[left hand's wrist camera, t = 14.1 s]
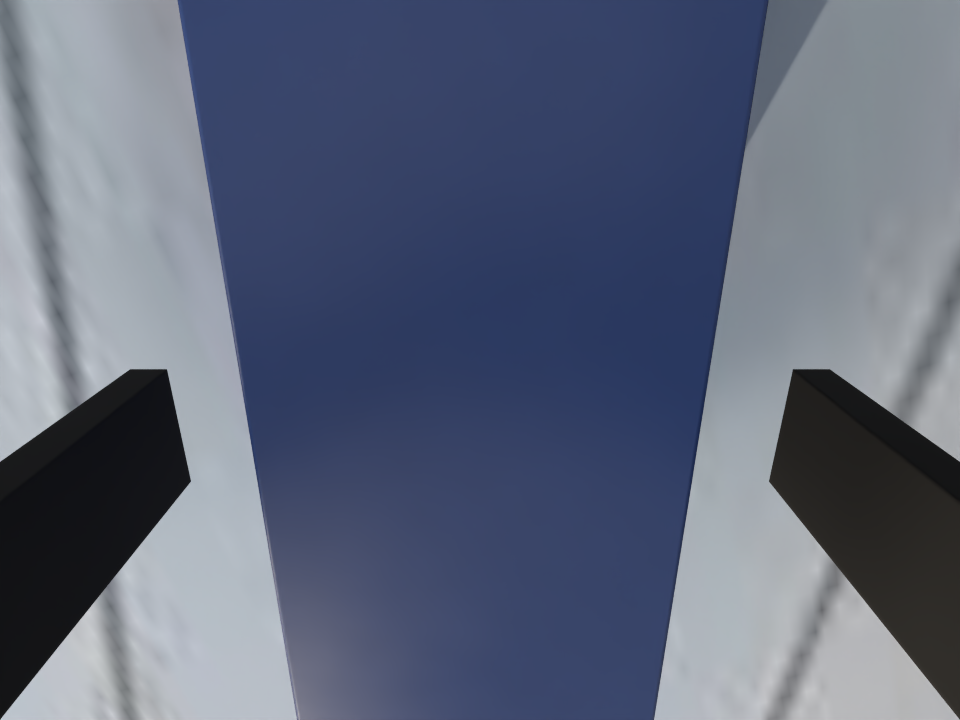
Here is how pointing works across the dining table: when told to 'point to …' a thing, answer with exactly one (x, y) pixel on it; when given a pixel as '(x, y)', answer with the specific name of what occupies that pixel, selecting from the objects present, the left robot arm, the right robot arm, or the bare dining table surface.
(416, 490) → the bar
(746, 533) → the dining table surface
